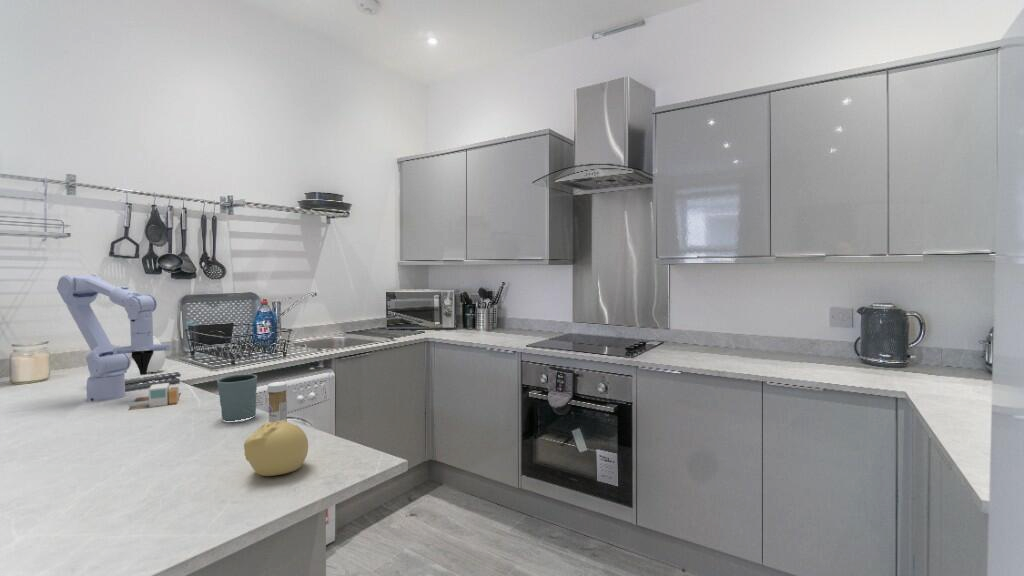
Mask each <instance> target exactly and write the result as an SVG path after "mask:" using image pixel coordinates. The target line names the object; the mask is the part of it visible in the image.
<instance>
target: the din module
mask: <svg viewBox="0 0 1024 576" xmlns="http://www.w3.org/2000/svg"><path fill="white" fill-rule="evenodd" d="M169 390H170V382H166V383H165V382H164V383H155V384H151V385H150V386H149V389H148V396H149V407H152V408H156V407H155V406H160V407H164V406H163V405H168V398H169ZM168 406H169V405H168Z"/></svg>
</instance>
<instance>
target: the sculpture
mask: <svg viewBox="0 0 1024 576" xmlns="http://www.w3.org/2000/svg"><path fill="white" fill-rule="evenodd" d="M243 449H244V456H245V460H246V461H247V462H248V463H249V465H250V466H251V468H252V470H253V471H254V472H255V473H256V474H258V475H259V476H261V475H262V477H273V476H279V475H285V474H289V473H293V472H295V471H297V470H298V469H301V467H302V466H303V465H304V462H305V461H306V458H307V456H308V452H309V441H308V437H307V435H306V432H305V431H304V430H303V429H302V428H301V427H299V426H298V425H296V424H294V423H291V422H286V420H282V421H278V422H272V423H271V422H269V421H268V422H264V423H263V424H261V426H260V427H259V428H258V429H257V430H256V431H254V432H253V434H252V435H250V436H249V437H248V438H247V439H246V440H245V441H244V443H243Z"/></svg>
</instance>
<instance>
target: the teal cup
mask: <svg viewBox="0 0 1024 576" xmlns="http://www.w3.org/2000/svg"><path fill="white" fill-rule="evenodd" d="M216 384H217V390H218V391H217V392H218V396H219V403H220V407H221V409H220V411H221V413H220V414H221V420H222V419H223V420H225V421H235V420H241V419H246V418H250V417H253V416H255V415H257V388H258V387H257V386H258V375H257V374H251V373H250V374H249V373H244V374H243V373H242V374H233V375H227V376H224V377H221V378H218V379H217V380H216ZM255 417H256V416H255ZM223 420H222V421H223Z"/></svg>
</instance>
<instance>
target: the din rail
mask: <svg viewBox="0 0 1024 576" xmlns="http://www.w3.org/2000/svg"><path fill="white" fill-rule="evenodd" d="M179 391H180V390H179V386H173V387H169V398H168V403H169V404H176V405H177V404H178V403H179V400H180V397H179V393H180V392H179ZM128 406H129V408H135V407H143V406H149V400H148V401H140V402H134V401H133V402H130V403H129V405H128ZM129 408H128V409H129Z"/></svg>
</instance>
